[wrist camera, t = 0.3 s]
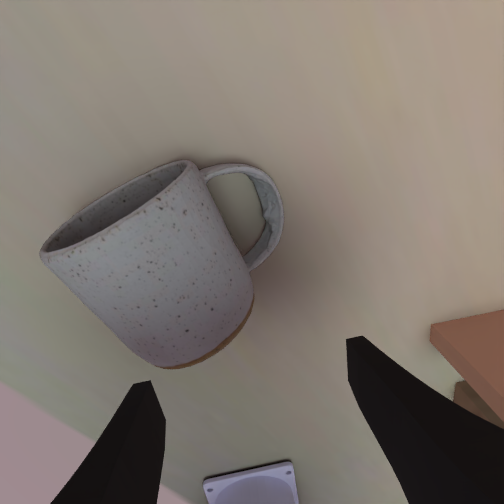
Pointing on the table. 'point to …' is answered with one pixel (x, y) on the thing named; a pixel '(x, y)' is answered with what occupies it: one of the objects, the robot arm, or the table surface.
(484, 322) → the picture frame
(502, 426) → the bronze rectangular prism
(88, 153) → the table surface
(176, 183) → the ceramic mug
